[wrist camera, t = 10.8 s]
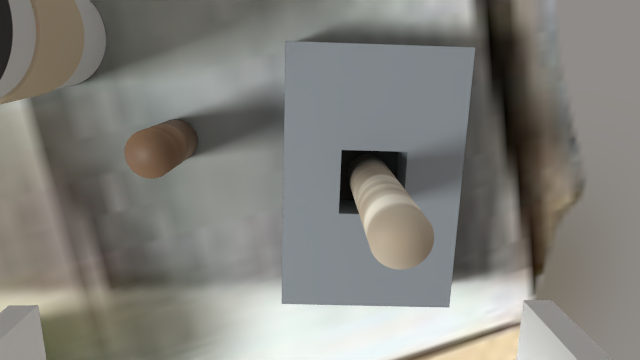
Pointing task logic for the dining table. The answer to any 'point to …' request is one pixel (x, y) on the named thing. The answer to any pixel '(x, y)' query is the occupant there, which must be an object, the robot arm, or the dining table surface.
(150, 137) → the short pin
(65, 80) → the coffee cup
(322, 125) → the grey block with hole
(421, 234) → the long pin
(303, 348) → the dining table surface
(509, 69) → the dining table surface
